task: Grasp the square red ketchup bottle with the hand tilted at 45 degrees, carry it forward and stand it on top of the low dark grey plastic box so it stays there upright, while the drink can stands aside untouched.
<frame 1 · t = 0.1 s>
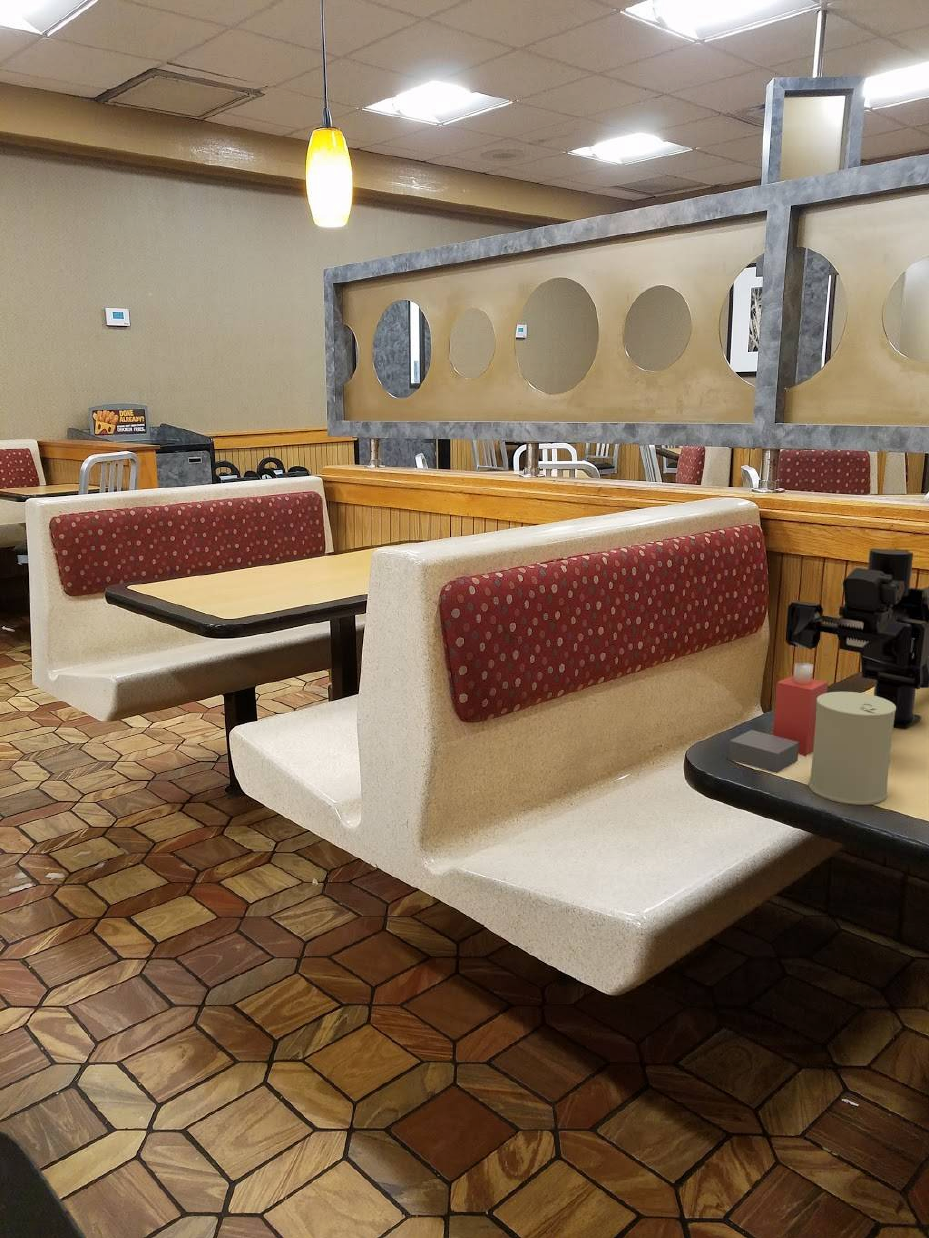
hand: (827, 645, 126), 17 cm above the table, tool horizontal, fingers open, 9 cm apart
ketchup bottle: (797, 746, 136), on the table
grey box: (762, 762, 132), on the table
can: (847, 791, 122), on the table
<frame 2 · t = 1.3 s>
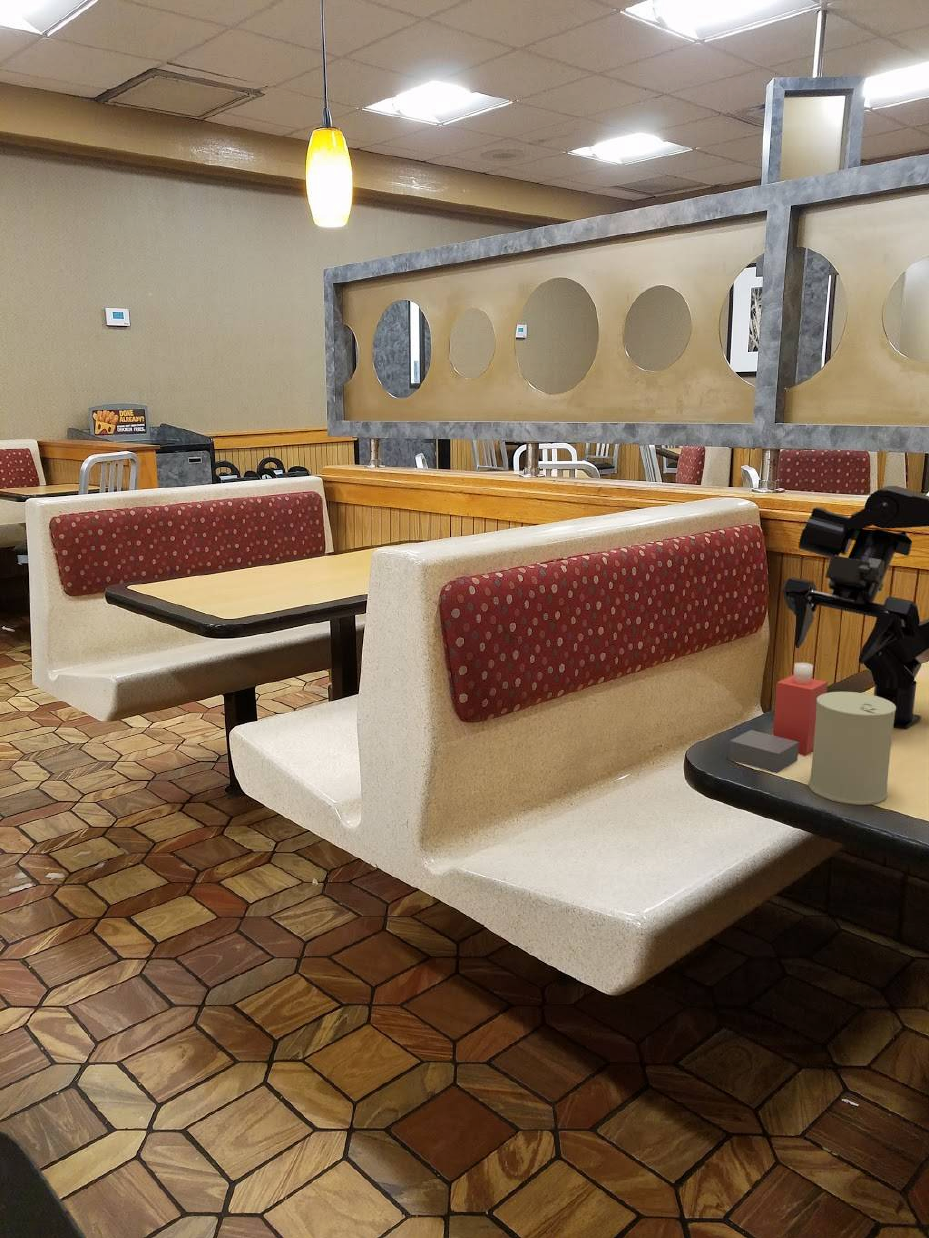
hand: (827, 654, 139), 12 cm above the table, tool tilted 45°, fingers open, 9 cm apart
nothing on the table moved.
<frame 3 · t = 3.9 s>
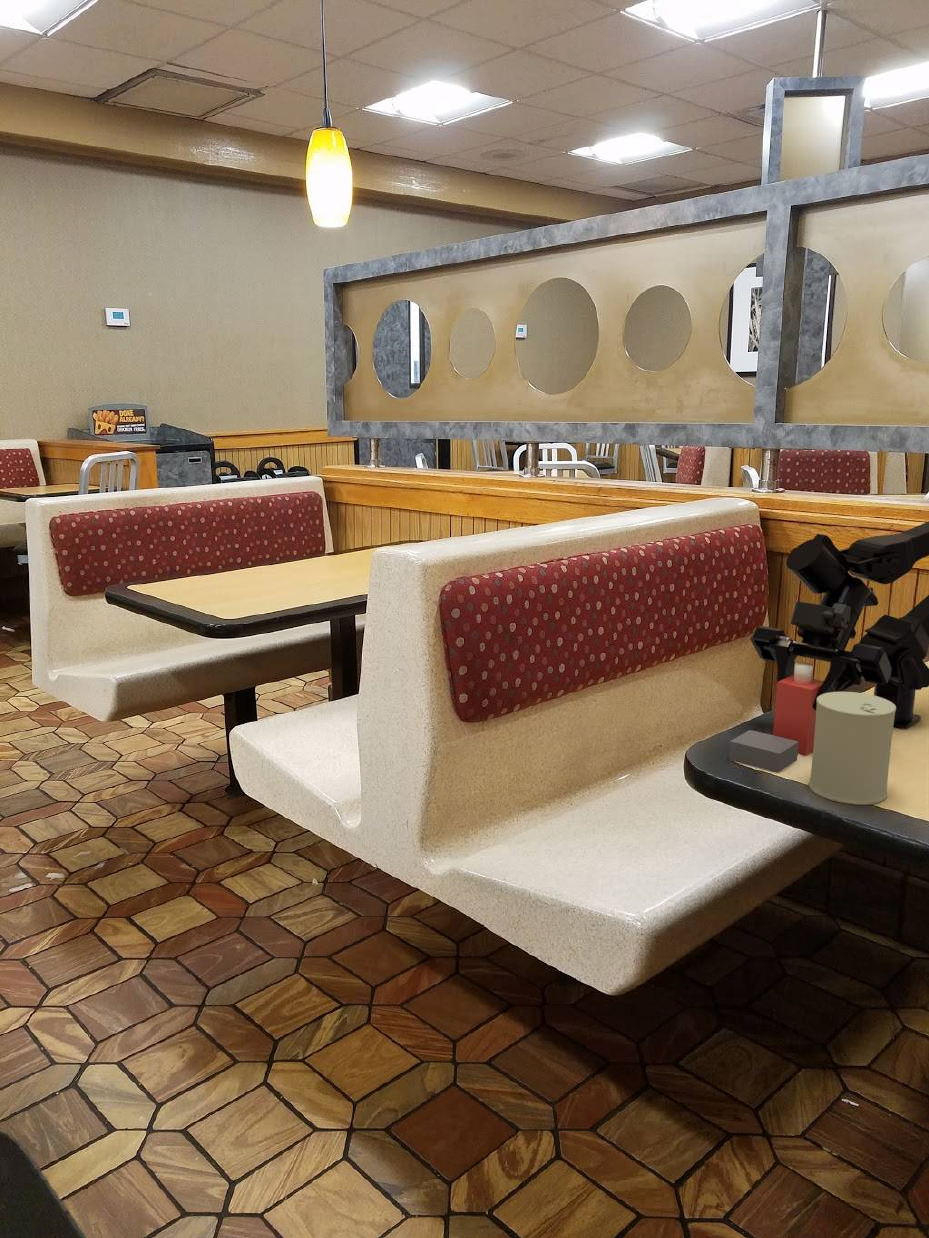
hand: (796, 703, 134), 7 cm above the table, tool tilted 45°, fingers closed on ketchup bottle, 5 cm apart
ketchup bottle: (796, 746, 136), on the table, touching gripper
everything else where it was.
when the fingers open (10 cm above the table, at t = 6.9 s): ketchup bottle drops 1 cm, resting on grey box.
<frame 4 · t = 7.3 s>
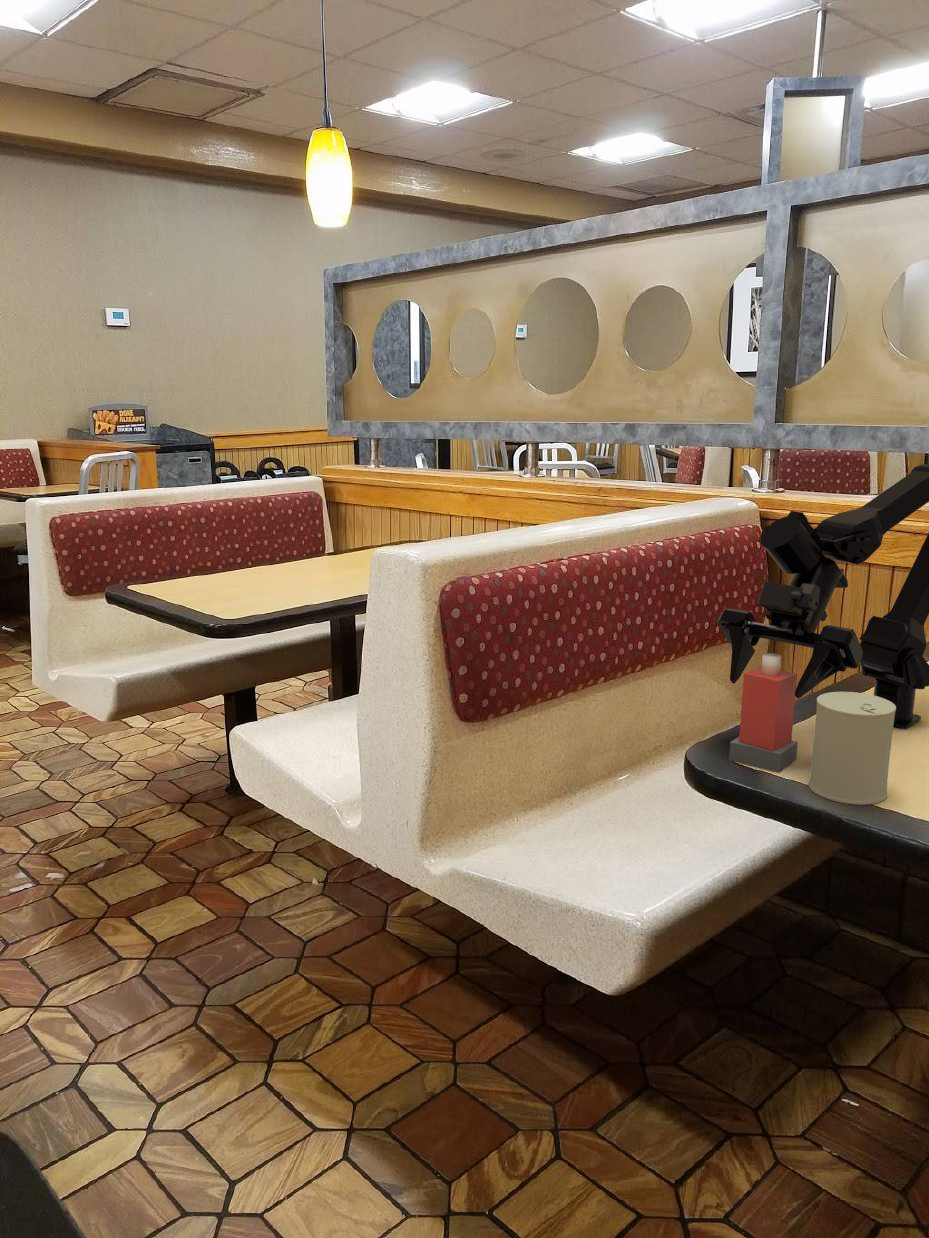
hand: (763, 688, 128), 10 cm above the table, tool tilted 45°, fingers open, 9 cm apart
ketchup bottle: (765, 741, 131), point 3 cm above the table, touching grey box
grey box: (762, 762, 132), on the table, touching ketchup bottle
everything else where it was.
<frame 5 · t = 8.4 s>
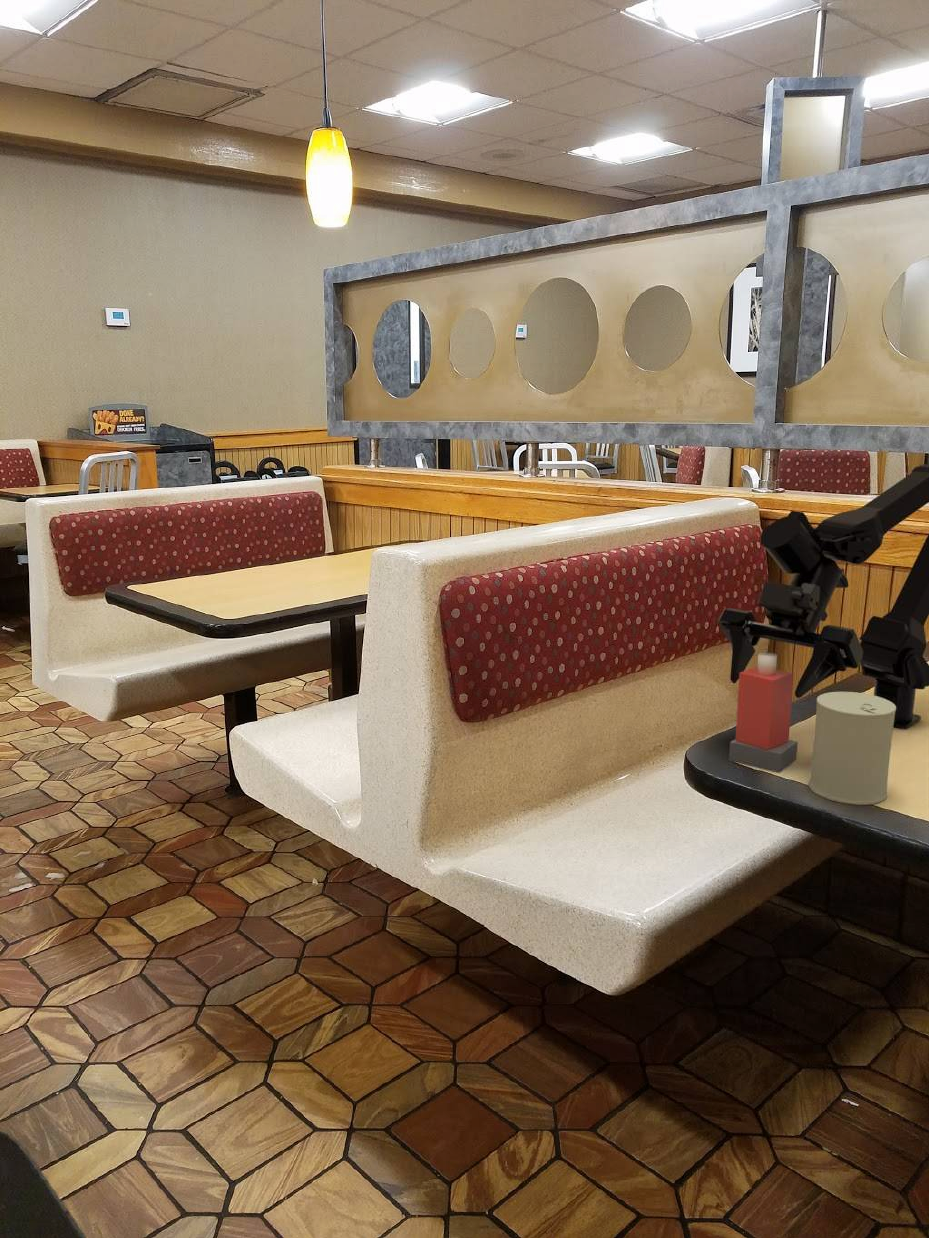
hand: (763, 688, 128), 10 cm above the table, tool tilted 45°, fingers open, 9 cm apart
ketchup bottle: (762, 740, 131), point 3 cm above the table
grey box: (762, 762, 132), on the table
everything else where it was.
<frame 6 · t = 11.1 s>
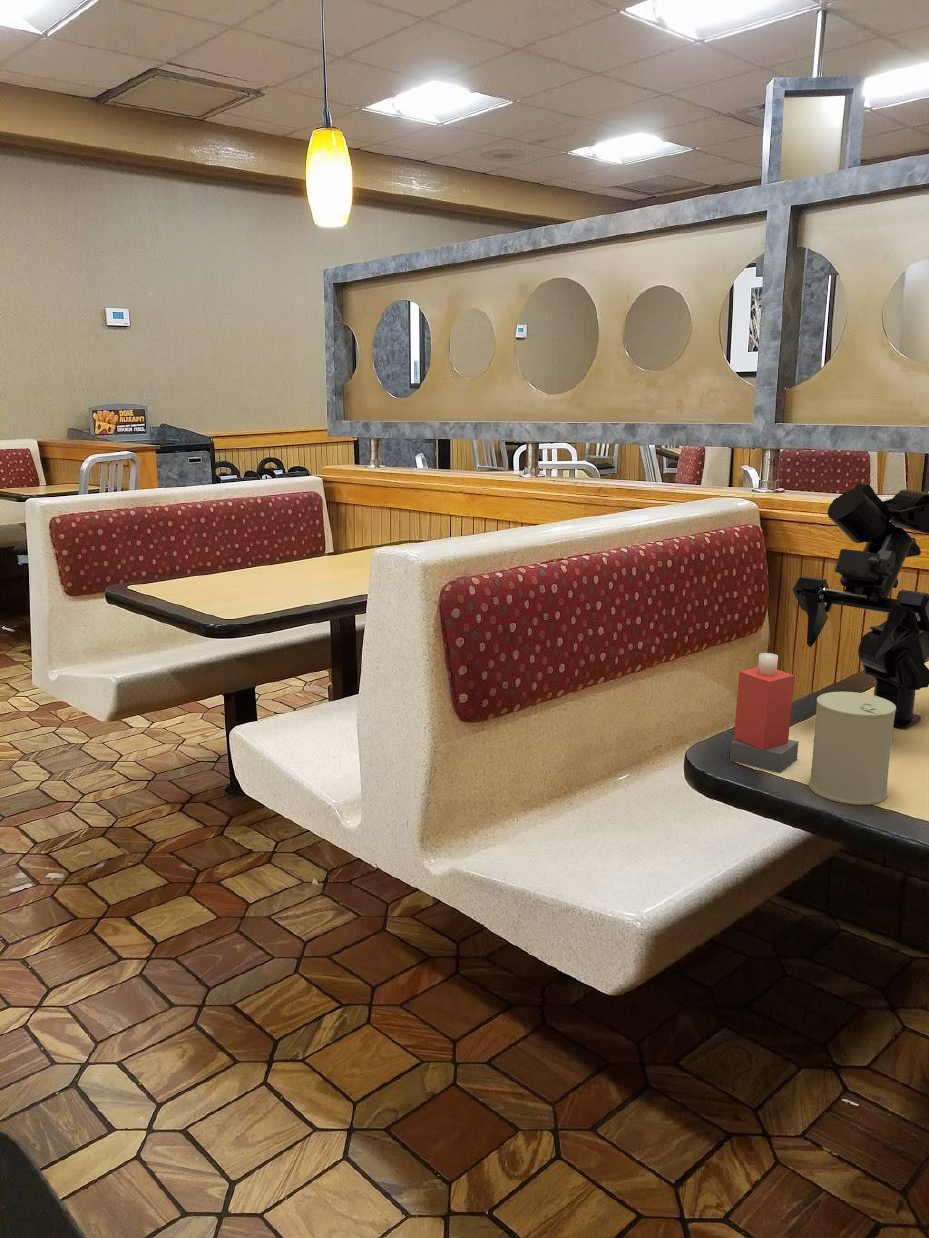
hand: (840, 651, 134), 14 cm above the table, tool tilted 45°, fingers open, 9 cm apart
nothing on the table moved.
at the end: ketchup bottle inside the target area on the grey box (0.7 cm from its centre), point 3.1 cm above the grey box's base; ketchup bottle tilted 3°; the gripper is holding nothing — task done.
